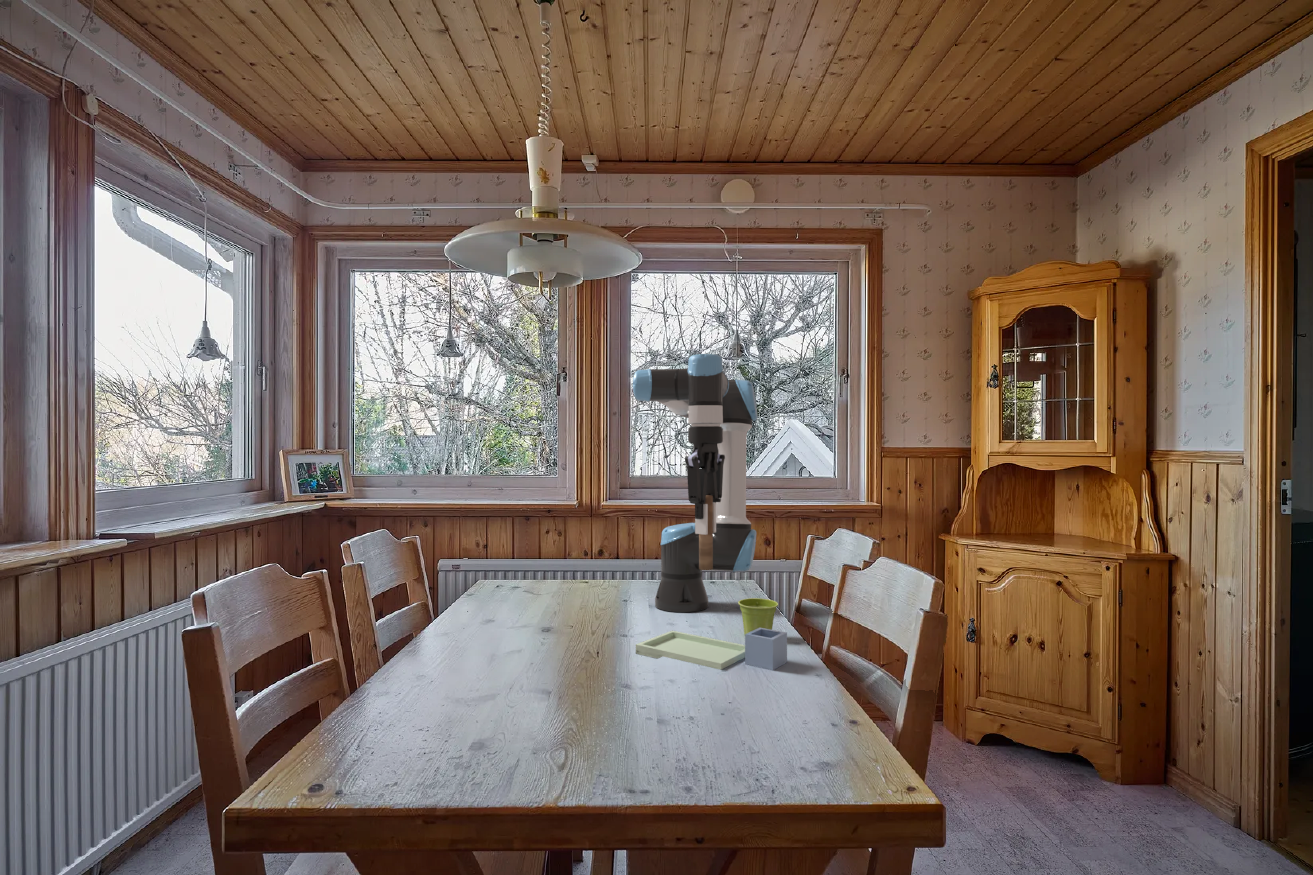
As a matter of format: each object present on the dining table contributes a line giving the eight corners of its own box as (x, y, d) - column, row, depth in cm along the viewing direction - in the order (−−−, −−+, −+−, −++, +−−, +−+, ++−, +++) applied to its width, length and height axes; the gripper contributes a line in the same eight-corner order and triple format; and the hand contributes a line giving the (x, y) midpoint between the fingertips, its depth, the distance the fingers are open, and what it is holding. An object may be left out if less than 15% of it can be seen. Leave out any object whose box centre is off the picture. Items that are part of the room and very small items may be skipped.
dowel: (703, 566, 154) (703, 494, 154) (715, 568, 152) (715, 495, 152) (696, 569, 151) (696, 495, 151) (708, 570, 150) (708, 496, 150)
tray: (672, 638, 165) (672, 630, 165) (754, 655, 152) (754, 646, 152) (635, 653, 154) (635, 644, 154) (720, 673, 140) (720, 663, 141)
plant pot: (776, 634, 169) (776, 598, 169) (779, 645, 160) (779, 607, 160) (737, 633, 170) (737, 597, 170) (738, 644, 160) (738, 606, 160)
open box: (759, 660, 149) (759, 627, 149) (787, 665, 145) (787, 632, 145) (745, 667, 144) (745, 634, 144) (772, 674, 140) (772, 639, 140)
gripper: (709, 425, 160) (709, 527, 160) (670, 425, 147) (671, 536, 147) (738, 425, 156) (738, 529, 156) (701, 425, 143) (701, 539, 143)
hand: (705, 532), depth 152 cm, fingers closed on dowel, 3 cm apart
